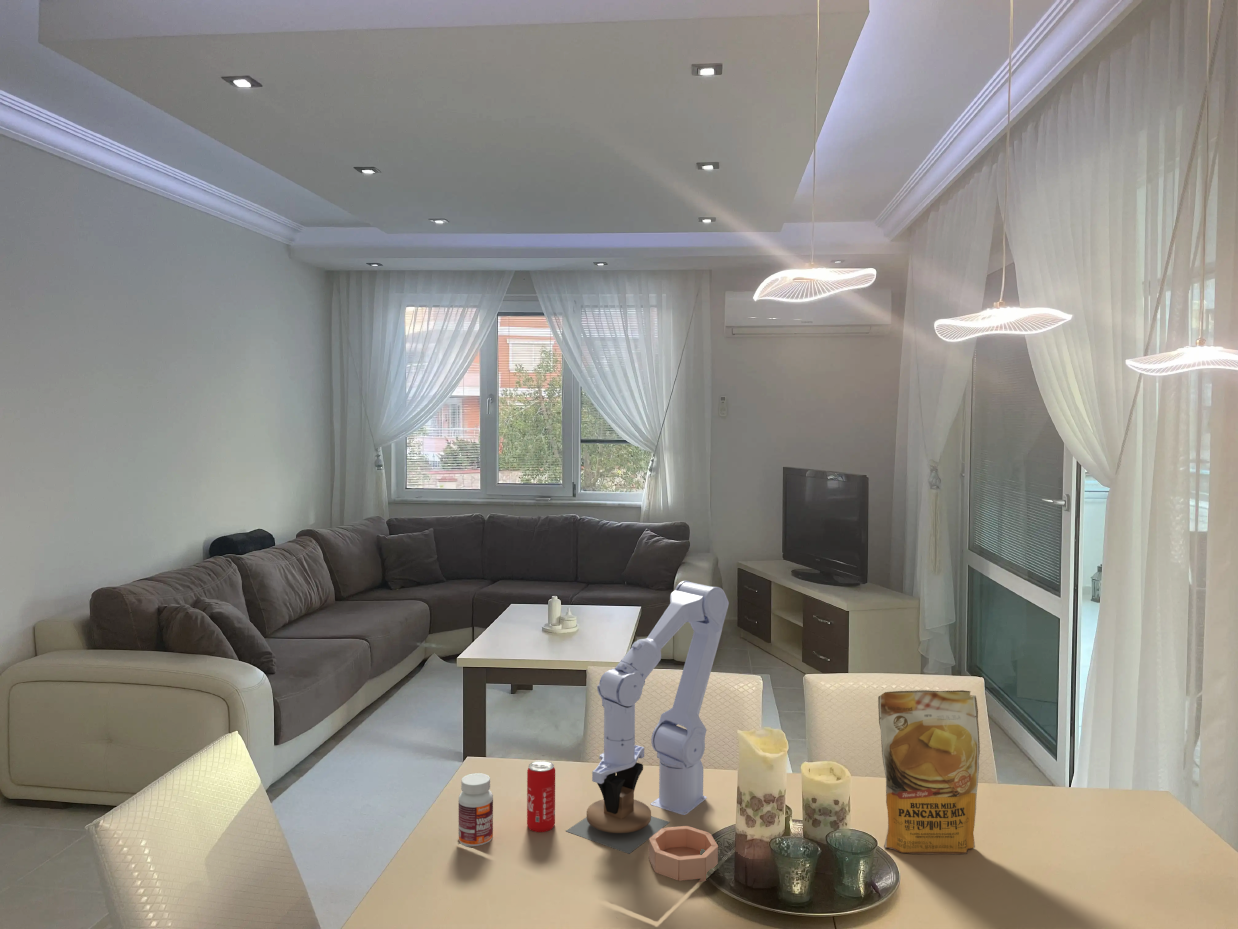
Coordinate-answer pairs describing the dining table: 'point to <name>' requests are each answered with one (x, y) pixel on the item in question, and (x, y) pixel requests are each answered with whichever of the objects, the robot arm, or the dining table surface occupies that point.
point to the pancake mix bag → (930, 769)
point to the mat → (618, 834)
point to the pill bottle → (475, 810)
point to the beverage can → (541, 796)
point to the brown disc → (620, 814)
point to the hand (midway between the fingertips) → (618, 807)
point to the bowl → (683, 853)
